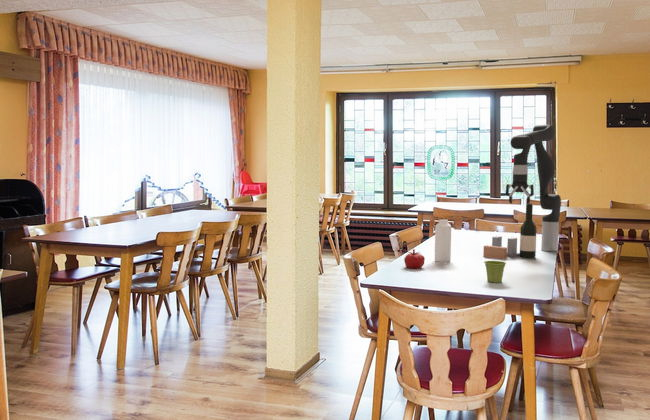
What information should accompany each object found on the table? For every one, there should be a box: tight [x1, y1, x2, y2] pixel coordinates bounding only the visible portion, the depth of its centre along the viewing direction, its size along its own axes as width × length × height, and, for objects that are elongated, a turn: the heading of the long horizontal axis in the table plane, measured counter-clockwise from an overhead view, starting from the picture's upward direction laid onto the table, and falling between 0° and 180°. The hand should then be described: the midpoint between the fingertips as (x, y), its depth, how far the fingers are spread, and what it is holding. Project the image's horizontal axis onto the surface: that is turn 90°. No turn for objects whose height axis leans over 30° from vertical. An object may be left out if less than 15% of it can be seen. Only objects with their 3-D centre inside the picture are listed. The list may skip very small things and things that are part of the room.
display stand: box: [491, 235, 520, 258], centre depth 355 cm, size 7×16×10 cm, turn 51°
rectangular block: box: [482, 244, 508, 260], centre depth 348 cm, size 4×12×6 cm, turn 51°
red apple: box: [403, 248, 425, 269], centre depth 314 cm, size 10×10×9 cm
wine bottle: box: [519, 202, 537, 260], centre depth 346 cm, size 8×8×30 cm
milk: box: [434, 218, 452, 263], centre depth 334 cm, size 6×6×22 cm
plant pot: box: [484, 260, 507, 284], centre depth 282 cm, size 9×9×9 cm
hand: (519, 203), depth 339 cm, fingers open, 8 cm apart
